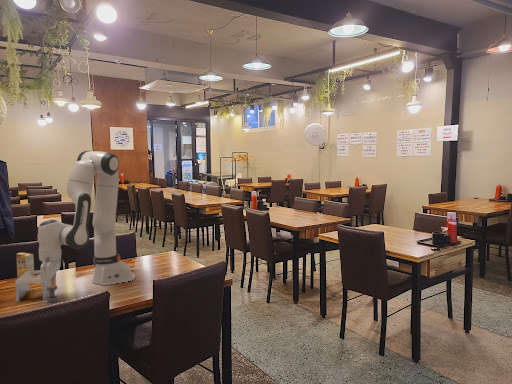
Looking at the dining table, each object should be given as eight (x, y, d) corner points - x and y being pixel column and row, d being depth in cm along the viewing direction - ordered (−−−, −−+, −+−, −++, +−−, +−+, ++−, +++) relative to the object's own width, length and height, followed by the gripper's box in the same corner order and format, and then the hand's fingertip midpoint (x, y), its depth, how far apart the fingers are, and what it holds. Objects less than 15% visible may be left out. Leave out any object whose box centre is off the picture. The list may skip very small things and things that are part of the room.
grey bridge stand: (53, 288, 184) (52, 269, 183) (45, 299, 169) (44, 279, 168) (27, 290, 180) (26, 271, 179) (16, 302, 166) (15, 281, 165)
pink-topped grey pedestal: (58, 298, 170) (57, 276, 169) (56, 302, 166) (55, 279, 165) (48, 299, 169) (47, 277, 168) (46, 303, 164) (44, 280, 163)
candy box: (17, 281, 194) (15, 253, 192) (25, 278, 197) (23, 251, 196) (27, 283, 190) (26, 255, 188) (35, 281, 194) (33, 253, 192)
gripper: (51, 260, 156) (53, 291, 157) (62, 249, 175) (64, 276, 177) (35, 262, 154) (37, 292, 155) (48, 249, 174) (50, 277, 175)
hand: (51, 283), depth 166 cm, fingers open, 5 cm apart
